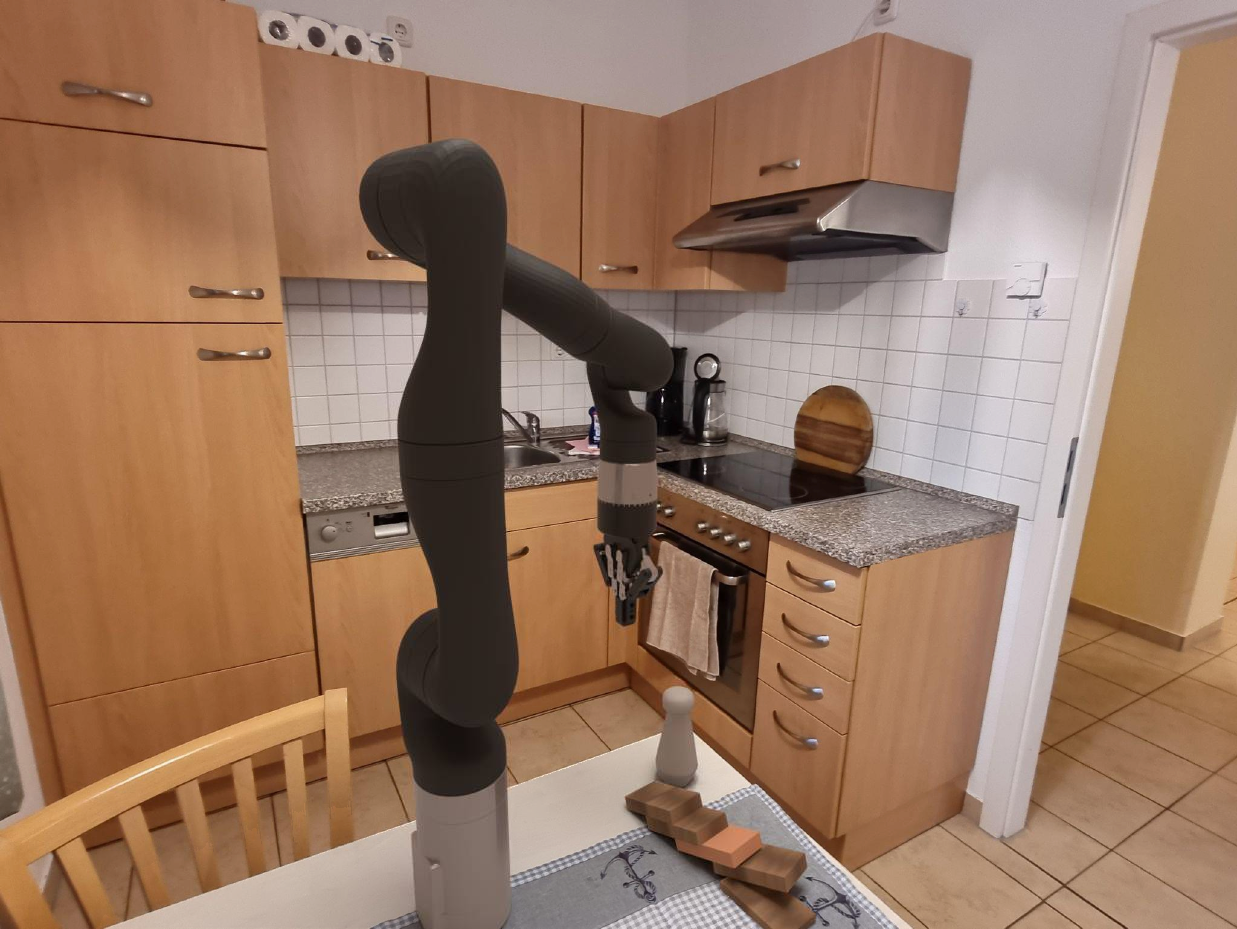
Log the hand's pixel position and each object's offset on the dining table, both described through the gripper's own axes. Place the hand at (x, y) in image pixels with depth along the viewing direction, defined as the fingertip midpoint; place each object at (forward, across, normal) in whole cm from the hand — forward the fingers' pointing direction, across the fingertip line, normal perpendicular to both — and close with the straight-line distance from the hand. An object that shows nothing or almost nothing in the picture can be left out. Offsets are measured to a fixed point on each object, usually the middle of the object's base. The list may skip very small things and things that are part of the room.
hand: (625, 623), depth 90 cm
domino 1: (+22, -5, +1) cm, 22 cm away
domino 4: (+22, -19, -2) cm, 29 cm away
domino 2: (+22, -9, 0) cm, 24 cm away
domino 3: (+22, -14, -1) cm, 26 cm away
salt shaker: (+23, -4, -6) cm, 24 cm away
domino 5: (+23, -21, -1) cm, 31 cm away
